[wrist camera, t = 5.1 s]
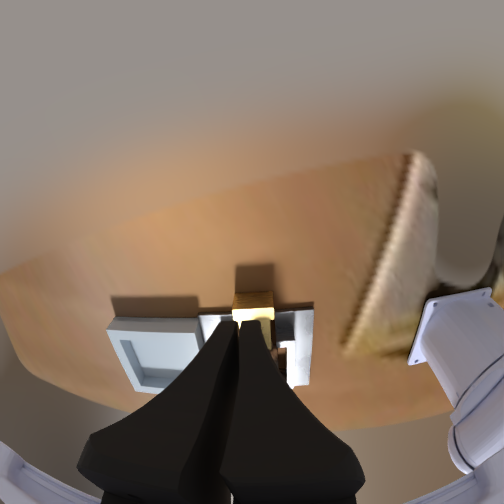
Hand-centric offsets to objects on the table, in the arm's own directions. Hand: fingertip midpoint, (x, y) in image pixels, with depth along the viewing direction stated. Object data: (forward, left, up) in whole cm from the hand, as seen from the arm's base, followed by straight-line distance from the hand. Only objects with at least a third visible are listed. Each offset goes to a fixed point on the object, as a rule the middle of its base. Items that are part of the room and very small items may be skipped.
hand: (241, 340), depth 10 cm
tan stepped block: (0, +5, -9) cm, 11 cm away
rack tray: (+9, +9, -9) cm, 16 cm away
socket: (0, +9, -9) cm, 13 cm away
